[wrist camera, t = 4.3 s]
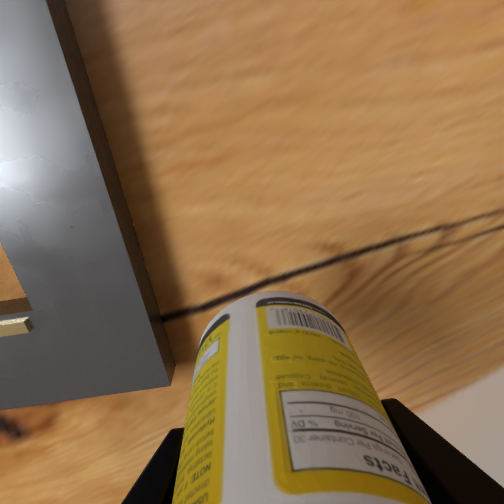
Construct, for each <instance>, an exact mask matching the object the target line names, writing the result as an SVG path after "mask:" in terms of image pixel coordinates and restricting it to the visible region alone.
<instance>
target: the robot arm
mask: <svg viewBox="0 0 504 504" xmlns="http://www.w3.org/2000/svg"><path fill="white" fill-rule="evenodd" d="M381 403H382V405H383V407H384V409H385V411H386V413H387V415H388V417H389V419H390V421H391V423H392V425H393V427H394V429H395V431H396V433H397V435H398V437H399V439H400V441H401V443H402V445H403V447H404V449H405V451H406V453H407V455H408V457H409V459H410V461H411V463H412V465H413V467H414V469H415V471H416V473H417V475H418V477H419V479H420V481H421V483H422V485H423V487H424V489H425V491H426V493H427V495H428V497H429V499H430V501H431V503H432V504H504V488H503V487H502V486H501V485H499V484H498V483H497V482H496V481H495V480H493V479H492V478H491V477H490V476H489V475H487V474H486V473H485V472H483V470H481V469H480V468H479V467H478V466H477V465H475V464H474V463H473V462H472V461H470V460H469V459H468V458H467V457H466V456H465V455H463V454H462V453H461V452H460V451H458V450H457V449H456V448H455V447H454V446H452V445H451V444H450V443H449V442H448V441H446V440H445V439H444V438H443V437H442V436H440V435H439V434H438V433H437V432H436V431H434V430H433V429H432V428H431V427H429V426H428V425H427V424H426V423H425V422H424V421H422V420H421V419H420V418H419V417H418V416H416V415H415V414H414V413H413V412H411V411H410V410H409V409H408V408H407V407H405V406H404V405H403V404H402V403H401V402H399V401H398V400H397V399H395V398H390V399H383V400H381ZM184 429H185V428H176V429H172V430H170V431H169V433H168V434H167V436H166V437H165V439H164V440H163V442H162V443H161V445H160V446H159V448H158V449H157V451H156V452H155V454H154V455H153V457H152V458H151V460H150V461H149V463H148V464H147V466H146V467H145V469H144V470H143V472H142V473H141V475H140V476H139V478H138V479H137V481H136V482H135V484H134V485H133V487H132V488H131V490H130V491H129V493H128V494H127V496H126V497H125V499H124V500H123V502H122V503H121V504H172V500H173V494H174V488H175V482H176V476H177V470H178V464H179V458H180V452H181V446H182V440H183V435H184Z"/></svg>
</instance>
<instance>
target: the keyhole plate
mask: <svg viewBox="0 0 504 504" xmlns="http://www.w3.org/2000/svg"><path fill="white" fill-rule="evenodd" d="M0 242H1V244H2V246H3V249H4V251H5V253H6V255H7V257H8V259H9V261H10V263H11V265H12V267H13V269H14V271H15V273H16V275H17V278H18V280H19V282H20V284H21V286H22V288H23V290H24V292H25V294H26V296H27V298H22V299H15V300H8V301H2V302H0V410H6V409H13V408H20V407H27V406H34V405H41V404H48V403H55V402H62V401H68V400H75V399H82V398H89V397H96V396H103V395H110V394H117V393H124V392H131V391H138V390H145V389H152V388H159V387H166V386H171V382H172V378H173V374H174V370H175V366H176V365H175V361H174V358H173V355H172V352H171V348H170V345H169V342H168V338H167V335H166V332H165V329H164V325H163V322H162V319H161V316H160V312H159V309H158V306H157V302H156V299H155V296H154V293H153V289H152V286H151V283H150V280H149V276H148V273H147V270H146V266H145V263H144V260H143V257H142V253H141V250H140V247H139V244H138V240H137V237H136V234H135V230H134V227H133V224H132V221H131V217H130V214H129V211H128V208H127V204H126V201H125V198H124V194H123V191H122V188H121V185H120V181H119V178H118V175H117V172H116V168H115V165H114V162H113V158H112V155H111V152H110V149H109V145H108V142H107V139H106V136H105V132H104V129H103V126H102V122H101V119H100V116H99V113H98V109H97V106H96V103H95V100H94V96H93V93H92V90H91V86H90V83H89V80H88V77H87V73H86V70H85V67H84V64H83V60H82V57H81V54H80V50H79V47H78V44H77V41H76V37H75V34H74V31H73V28H72V24H71V21H70V18H69V14H68V11H67V8H66V5H65V1H64V0H0Z"/></svg>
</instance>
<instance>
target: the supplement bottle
mask: <svg viewBox="0 0 504 504" xmlns="http://www.w3.org/2000/svg"><path fill="white" fill-rule="evenodd" d="M172 504H432V503H431V501H430V499H429V497H428V495H427V493H426V491H425V489H424V487H423V485H422V483H421V481H420V479H419V477H418V475H417V473H416V471H415V469H414V467H413V465H412V463H411V461H410V459H409V457H408V455H407V453H406V451H405V449H404V447H403V445H402V443H401V441H400V439H399V437H398V435H397V433H396V431H395V429H394V427H393V425H392V423H391V421H390V419H389V417H388V415H387V413H386V411H385V409H384V407H383V405H382V403H381V401H380V399H379V397H378V395H377V393H376V392H375V389H374V387H373V386H372V384H371V382H370V380H369V377H368V375H367V374H366V372H365V370H364V368H363V366H362V364H361V362H360V360H359V358H358V356H357V354H356V352H355V350H354V348H353V346H352V344H351V342H350V340H349V338H348V337H347V335H346V333H345V331H344V329H343V328H342V326H341V324H340V323H339V321H338V320H337V319H336V317H335V316H334V315H333V314H332V313H331V312H330V311H329V310H328V309H327V308H326V307H324V306H323V305H322V304H320V303H319V302H317V301H315V300H314V299H312V298H309V297H307V296H304V295H301V294H297V293H293V292H287V291H267V292H260V293H256V294H251V295H248V296H246V297H243V298H241V299H238V300H236V301H235V302H233V303H231V304H229V305H228V306H226V307H225V308H224V309H222V310H221V311H220V312H219V313H218V314H217V315H216V316H215V317H214V318H213V319H212V320H211V322H210V323H209V324H208V326H207V327H206V329H205V331H204V333H203V335H202V338H201V341H200V344H199V348H198V353H197V358H196V364H195V368H194V374H193V381H192V387H191V394H190V400H189V405H188V411H187V417H186V423H185V429H184V435H183V440H182V446H181V452H180V458H179V464H178V470H177V476H176V482H175V488H174V494H173V500H172Z"/></svg>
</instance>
